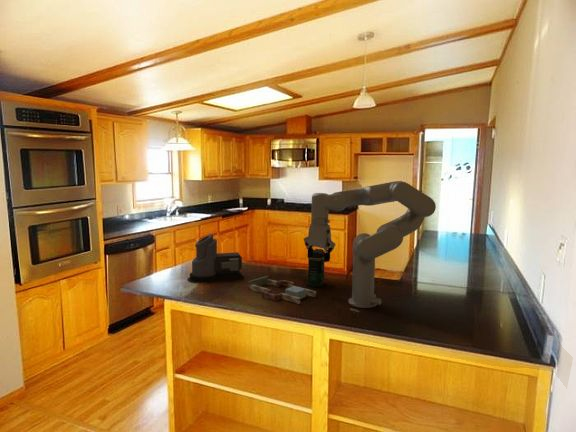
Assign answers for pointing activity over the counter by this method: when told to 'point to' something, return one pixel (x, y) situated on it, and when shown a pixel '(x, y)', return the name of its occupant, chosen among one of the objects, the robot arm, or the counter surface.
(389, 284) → the counter surface
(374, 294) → the robot arm
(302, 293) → the gray block
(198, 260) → the juicer
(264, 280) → the trap channel
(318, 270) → the coffee jar
